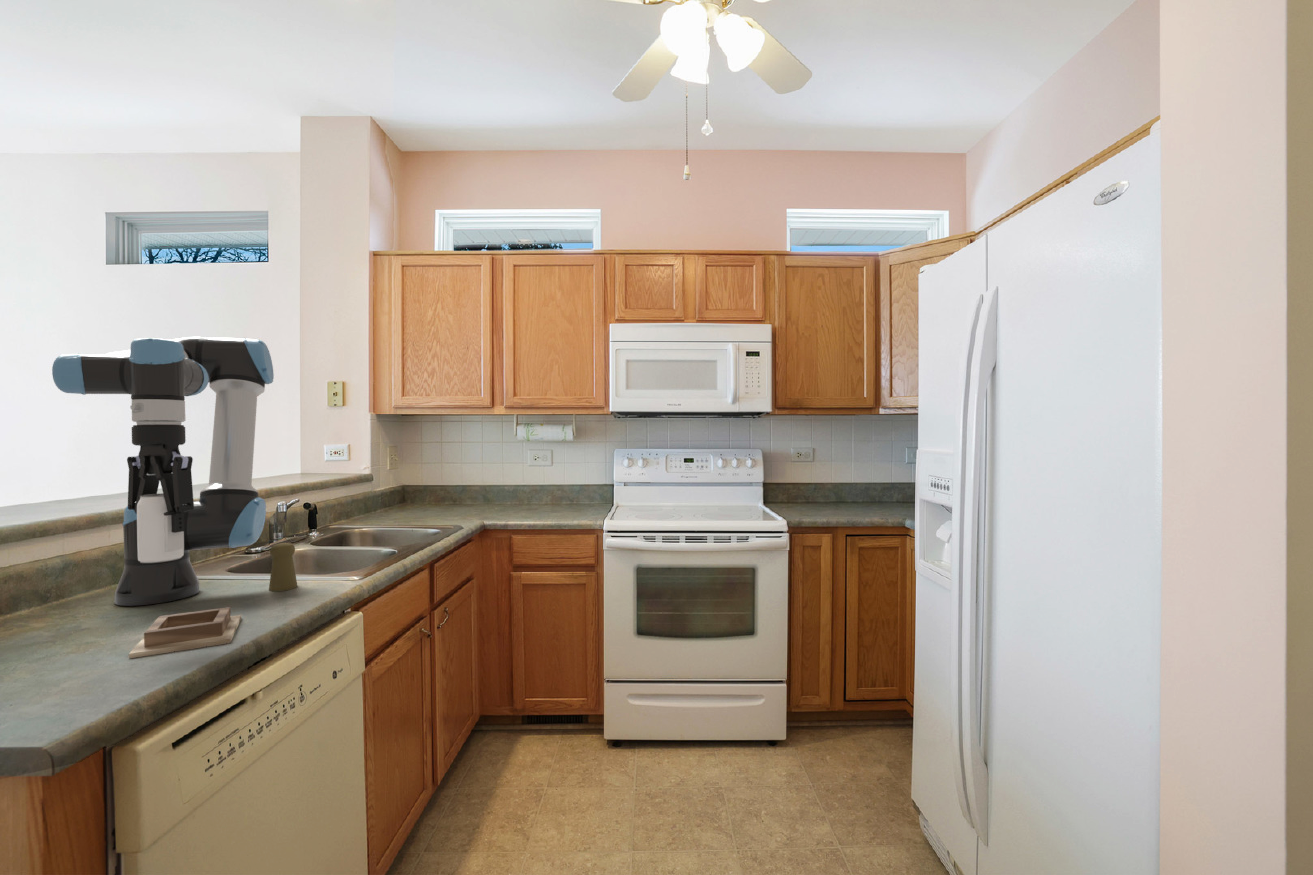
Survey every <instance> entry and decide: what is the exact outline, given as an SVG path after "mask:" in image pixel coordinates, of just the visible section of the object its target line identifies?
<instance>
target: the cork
mask: <svg viewBox="0 0 1313 875" xmlns="http://www.w3.org/2000/svg"><path fill="white" fill-rule="evenodd" d="M295 553H296V548H295V545H294V544H293V543H290V542H280V543H276V544H273V545H271V547H270V550H269V554H270V557H271V558H272V562H271V563H272V564H271V570H270V571H271V572H270V578H269V584H268V585H269V586H268V591H269V592H283V591H289V590H294V589H297V587H298V582H297V576H296V570H295V565H294V564H295V563H294V557H293V556H294V554H295Z"/></svg>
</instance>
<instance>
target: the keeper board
mask: <svg viewBox="0 0 1313 875" xmlns="http://www.w3.org/2000/svg"><path fill="white" fill-rule="evenodd" d="M241 620H242V614H239V615H238V614H237V615H231V607H230V606H229V607H221V608H220V607H219V608H213V609H212V608H211V609H205V610H204V609H203V610H198V611H190V612H189V611H188V612H182V613H181V612H180V613H173V614H165V615H159V616H158V617H157V618H156V619H155V621H154V622H152V624H150V626H149V627H148V628H147V629H146V630H145V631H144V632H143V637H142V638H141V640H140V641H139V642H138V643H137V644H136V645H135V646H134V647H133V648H132V650H130V652H129V653H128V659H134V658H141V657H147V656H156V655H160V654H167V653H173V652H174V651H175V652H179V651H180V652H181V651H187V650H193V649H199V648H206V646H207V647H213V646H219V645H225V644H226V643H227V644H231V642H232V639H233V637H234V636H235V634H236V632H237V628H238V627H239V625H240V622H241ZM234 633H235V634H234Z"/></svg>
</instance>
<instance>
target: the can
mask: <svg viewBox="0 0 1313 875" xmlns="http://www.w3.org/2000/svg"><path fill="white" fill-rule="evenodd" d="M174 507H175V506H174ZM166 512H168V511H167V507H166V503H165V499H164V494H163V492H162V493H157V494H148V495H141V496H140V500H139V502H138V504H137V547H138V561H140V562H141V563H159V562H167V561H173V560H177V559H180V558H182V556H183V555H184V549H180V550H175V551H169V552H165V525H164V514H163V513H166Z"/></svg>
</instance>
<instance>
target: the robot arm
mask: <svg viewBox="0 0 1313 875" xmlns="http://www.w3.org/2000/svg"><path fill="white" fill-rule="evenodd" d="M51 367H52V368H51V370H52V374H51V375H52V379H53V382H54V384H55V386H56V388H57V389H58V390H60V391H61V392H63V393H66V394H77V395H79V394H80V395H84V396H85V395H131V396H130V400H131V405H130V409H131V421H132V422H133V423H135V425H132V426H131V444H132V445H134V446H139V447H140V448H139V451H138V455H136V456H135V455H134V456H128V457H127V459H126V462H127V466H128V483H127V484H128V486H127V488H128V489H127V506H126V507H125V508H124V510H123V523H122V527H123V557H124V561H123V562H124V564H123V565H124V567H123V571H122V574H121V577H120V579H119V582H118V584H117V587H116V589H115V592H114V604H115V605H116V606H121V607H122V606H123V607H135V606H147V605H154V604H155V605H156V604H162V603H163V604H164V603H166V602H173V601H177V600H181V599H186V598H189V597H191V596H194V595H196V594H198V593H199V592H200V580H199V578H198V576H197V574H196V572H195V569H194V567H193V565H192V563H191V561H190V560H191V558H190V552H191V551H195V550H197V551H198V550H207V549H208V550H209V549H210V550H211V549H225V548H230V549H231V548H232V549H234V548H237V547H248V546H251V545H253V544H255V543H256V542H257V541H258V540H259V538H260V537H261V535H262V532H263V530H264V526H265V523H266V516H267V511H266V510H267V505H266V500H265V499H264V498H262V497H261V496H259V491H258V490H257V489H256V488H255V487H254V486H253V484H252V481H253V469H254V468H253V466H254V465H253V464H254V452H255V449H254V448H255V437H256V436H255V435H256V434H255V433H256V421H257V405H258V404H257V402H258V397H259V396H260V395H261V394H263V393H264V392H265V390H266V389H265V388H266V385H269V384H273V382H274V376H275V374H274V365H273V361H272V357H271V353H270V350H269V347H268V345H267V344H266V343H265V342H264V341H263V340H260V339H256V338H255V339H253V338H247V337H243V338H241V337H240V338H239V337H237V338H236V337H216V336H215V337H212V336H211V337H210V336H186V337H178V338H170V339H167V338H166V339H165V338H157V337H140V338H139V337H138V338H135V339H133V340H132V341H131V343H130V348H129V349H127V350H119V351H111V352H104V353H103V352H102V353H97V354H96V353H95V354H88V353H87V354H83V353H70V354H69V353H67V354H66V353H64V354H60V355H58V356H57V357H56V358H55V360H54V361H53V364H52V366H51ZM208 385H209V388H210V390H212V391H213V392H215V403H214V418H213V429H212V441H211V455H210V466H209V478H208V485H207V486H206V487H204V488H203V489H202V490H200V492H199V499H198V500H194V492H193V489H194V488H193V478H192V466H193V461H194V459H193V457H192V456H184V455H183V454H182V455H181V451H180V448H179V446H183V445H185V443H186V441H187V440H186V426H185V425H182V423H185V421H186V401H185V398H186V397H191V396H197V395H198V394H201V393H202V392H203V391H204V390H205V389H206V388H207V387H208ZM160 486H161V490H162V493H163V494H164V499H165V503H166V507H167V511H168V512H166V513H163V514H164V525H165V552H169V551H175V550H180V549H184V555H183V556H182V558H180V559H177V560H173V561H167V562H159V563H141V562H140V561H138V547H137V504H138V502H139V500H140V496H141V495H148V494H158V490H159V487H160ZM174 506H175V507H174Z"/></svg>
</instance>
